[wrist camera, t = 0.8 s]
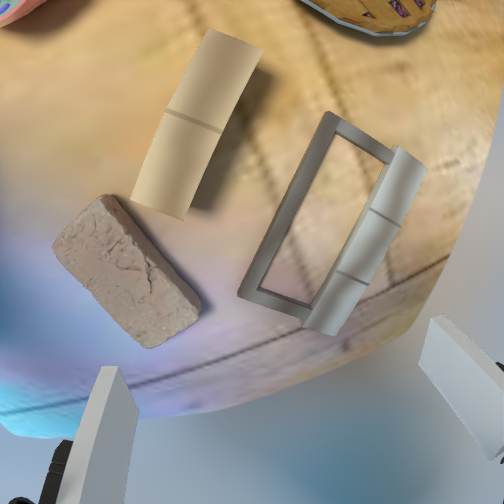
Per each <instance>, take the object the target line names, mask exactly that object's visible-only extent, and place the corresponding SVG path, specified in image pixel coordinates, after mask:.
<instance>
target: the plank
mask: <svg viewBox="0 0 504 504" xmlns="http://www.w3.org/2000/svg"><path fill="white" fill-rule="evenodd" d="M263 52H264V50H263V49H260V48H258V47H256V46H253V45H251V44H249V43H246V42H244V41H242V40H239V39H237V38H234V37H231V36H229V35H226V34H224V33H221V32H218V31H215V30H213V29H210V28H209V29H208V31H207V33H206V34H205V36H204V38H203V39H202V41H201V43H200V45H199V46H198V48H197V50H196V52H195V54H194V55H193V57H192V59H191V61H190V63H189V65H188V67H187V68H186V70H185V72H184V74H183V76H182V78H181V80H180V82H179V84H178V86H177V88H176V90H175V92H174V94H173V96H172V98H171V100H170V102H169V105H168V107H167V108H166V110H165V113H164V115H163V118H162V120H161V122H160V124H159V126H158V129H157V131H156V133H155V136H154V138H153V140H152V143H151V145H150V148H149V150H148V153H147V155H146V157H145V160H144V163H143V165H142V168H141V170H140V173H139V176H138V178H137V181H136V184H135V186H134V189H133V192H132V195H131V198H130V200H132V201H135V202H137V203H140V204H142V205H144V206H147V207H149V208H152V209H154V210H157V211H159V212H162V213H164V214H167V215H169V216H172V217H174V218H177V219H179V220H182V221H184V219H185V216H186V214H187V211H188V209H189V207H190V204H191V202H192V199H193V197H194V195H195V192H196V190H197V188H198V185H199V183H200V181H201V178H202V176H203V174H204V172H205V169H206V167H207V165H208V163H209V160H210V158H211V156H212V154H213V152H214V149H215V147H216V145H217V143H218V141H219V139H220V137H221V135H222V133H223V131H224V128H225V126H226V124H227V122H228V120H229V118H230V116H231V114H232V112H233V110H234V108H235V106H236V104H237V102H238V100H239V98H240V96H241V94H242V92H243V90H244V88H245V86H246V84H247V82H248V80H249V78H250V76H251V74H252V72H253V71H254V69H255V67H256V65H257V63H258V61H259V59H260V57H261V56H262V54H263Z"/></svg>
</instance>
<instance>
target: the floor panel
mask: <svg viewBox="0 0 504 504" xmlns="http://www.w3.org/2000/svg"><path fill="white" fill-rule="evenodd" d="M334 133H336V134H338V135H340V136H341V137H343V138H345V139H346V140H348V141H350V142H351V143H353V144H355V145H356V146H358V147H360V148H361V149H363V150H364V151H366V152H367V153H369V154H371V155H372V156H374V157H375V158H377V159H378V160H380V161H381V162H383V163H384V164H385V165H384V167H383V169H382V171H381V174H380V176H379V178H378V180H377V182H376V184H375V186H374V188H373V190H372V192H371V194H370V196H369V198H368V200H367V202H366V204H365V206H364V208H363V210H362V212H361V214H360V216H359V218H358V220H357V222H356V224H355V226H354V228H353V230H352V232H351V233H350V235H349V237H348V239H347V241H346V243H345V245H344V247H343V248H342V250H341V252H340V254H339V256H338V258H337V259H336V261H335V263H334V265H333V267H332V268H331V270H330V272H329V274H328V276H327V277H326V279H325V281H324V283H323V284H322V286H321V288H320V290H319V291H318V293H317V295H316V296H315V298H314V300H313V302H312V303H311V305H307V304H305V303H302V302H299V301H296V300H293V299H291V298H288V297H285V296H282V295H280V294H277V293H274V292H271V291H269V290H266V289H263V288H261V287H258V285H259V283H260V281H261V279H262V277H263V275H264V273H265V272H266V270H267V268H268V266H269V264H270V262H271V260H272V258H273V256H274V254H275V252H276V250H277V248H278V246H279V244H280V242H281V240H282V238H283V236H284V234H285V232H286V230H287V228H288V226H289V224H290V222H291V220H292V218H293V216H294V214H295V212H296V210H297V208H298V206H299V204H300V202H301V200H302V198H303V196H304V194H305V192H306V190H307V188H308V186H309V184H310V182H311V180H312V178H313V176H314V174H315V172H316V170H317V168H318V166H319V164H320V162H321V160H322V157H323V155H324V153H325V151H326V149H327V147H328V145H329V143H330V141H331V139H332V137H333V135H334ZM427 169H428V168H427V167H426V166H424V165H423V164H422V163H421V162H419V161H418V160H417V159H416V158H414V157H413V156H412V155H410V154H409V153H408V152H406V151H405V150H404V149H402V148H401V147H400V146H393V148H392V150H390V149H388V148H387V147H385V146H384V145H383V144H381V143H380V142H378V141H377V140H375V139H374V138H372V137H371V136H369V135H368V134H366V133H364V132H363V131H361V130H360V129H358V128H357V127H355V126H353V125H352V124H350V123H349V122H347V121H345V120H344V119H342V118H340V117H339V116H337V115H335V114H334V113H332V112H330V111H327V112H325V113H324V115H323V117H322V119H321V121H320V124H319V126H318V128H317V130H316V132H315V134H314V136H313V138H312V140H311V142H310V144H309V146H308V148H307V150H306V152H305V154H304V156H303V158H302V161H301V163H300V165H299V167H298V169H297V171H296V173H295V175H294V177H293V179H292V181H291V183H290V185H289V187H288V189H287V191H286V193H285V195H284V197H283V199H282V202H281V204H280V206H279V208H278V210H277V212H276V214H275V216H274V218H273V220H272V222H271V224H270V226H269V228H268V230H267V232H266V234H265V236H264V238H263V240H262V242H261V244H260V246H259V248H258V250H257V252H256V255H255V257H254V259H253V261H252V263H251V265H250V267H249V269H248V271H247V273H246V275H245V277H244V279H243V281H242V283H241V285H240V287H239V289H238V291H237V294H238V297H240V298H243V299H245V300H248V301H251V302H254V303H257V304H260V305H262V306H265V307H268V308H271V309H274V310H277V311H280V312H283V313H286V314H289V315H292V316H295V317H298V318H301V319H302V320H301V324H302V326H303V327H304V328H307V329H311V330H314V331H317V332H320V333H324V334H327V335H330V336H333V337H335V336H336V335H337V333H338V332H339V330H340V329H341V327H342V326H343V324H344V323H345V321H346V320H347V318H348V317H349V315H350V313H351V312H352V310H353V309H354V307H355V305H356V304H357V302H358V301H359V299H360V297H361V296H362V294H363V292H364V291H365V289H366V287H367V286H368V285H369V282H370V281H371V279H372V277H373V275H374V274H375V272H376V270H377V268H378V267H379V265H380V263H381V261H382V260H383V258H384V256H385V254H386V252H387V250H388V249H389V247H390V245H391V243H392V241H393V239H394V237H395V235H396V234H397V232H398V230H399V228H400V227H401V224H402V222H403V220H404V218H405V216H406V214H407V212H408V210H409V208H410V206H411V204H412V202H413V199H414V197H415V195H416V193H417V191H418V189H419V187H420V184H421V182H422V180H423V178H424V176H425V173H426V171H427Z"/></svg>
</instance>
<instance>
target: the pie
mask: <svg viewBox="0 0 504 504" xmlns="http://www.w3.org/2000/svg"><path fill="white" fill-rule="evenodd" d="M301 1H303V2H304V3H305V4H307V5H309V6H311V7H312V8H314V9H316V10H317V11H319V12H321V13H322V14H324V15H325V16H327V17H329V18H330V19H332V20H333V21H335V22H337V23H338V24H341V25H345V26H348V27H351V28H353V29H356V30H359V31H362V32H365V33H367V34H370V35H373V36H405V35H407V34H409V33H411V32H412V31H414V30H416V29H418V28H419V27H421V26H423V25H425V24H426V23H427V21H428V19H429V18H430V16H431V15H432V13H433V9H434V7H435V5H436V0H301Z"/></svg>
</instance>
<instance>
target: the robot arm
mask: <svg viewBox="0 0 504 504" xmlns="http://www.w3.org/2000/svg"><path fill="white" fill-rule="evenodd" d="M418 365H419V366H420V367H421V368H422V370H423V371H424V372H425V374H426V375H427V376H428V378H429V379H430V380H431V381H432V383H433V384H434V385H435V386H436V388H437V389H438V390H439V392H440V393H441V394H442V396H443V397H444V398H445V400H446V401H447V402H448V404H449V405H450V406H451V408H452V409H453V410H454V411H455V413H456V414H457V416H458V417H459V418H460V420H461V421H462V423H463V424H464V425H465V427H466V428H467V430H468V431H469V432H470V434H471V435H472V437H473V438H474V439H475V441H476V442H477V444H478V445H479V446H480V448H481V449H482V451H483V452H484V454H485V455H486V456H487V458H488V459H489V461H491V460H493V459H494V458H495V457H497V456H498V455H500V454H501V453H502V452H503V451H504V365H503V364H501V363H499V362H497V363H494V362H493V361H492V360H491V359H490V358H489V357H488V356H487V355H486V354H485V353H484V352H483V351H482V350H481V349H480V348H479V347H478V346H477V345H476V344H474V342H473V341H472V340H471V339H470V338H469V337H467V336H466V335H465V334H464V333H463V332H462V331H461V330H460V329H459V328H458V327H457V326H455V324H453V323H452V322H451V321H450V320H449V319H448V318H447V317H446V316H444V315H443V314H441V315H438V316H435V317H431V318H430V323H429V327H428V331H427V335H426V339H425V342H424V346H423V349H422V353H421V356H420V360H419V363H418ZM138 415H139V409H138V407H137V405H136V403H135V401H134V399H133V397H132V395H131V393H130V391H129V388H128V386H127V384H126V382H125V380H124V377H123V375H122V373H121V371H120V368H119V366H101V369H100V371H99V374H98V376H97V379H96V381H95V384H94V386H93V389H92V392H91V394H90V397H89V399H88V402H87V405H86V408H85V410H84V413H83V416H82V419H81V422H80V424H79V427H78V430H77V433H76V436H75V439H74V441H68V440H63V441H62V442H61V443H60V445H59V446H58V447H57V449H56V450H55V452H54V455H53V458H52V463H51V464H50V467H49V473H47V476H46V480H45V483H44V486H43V490H42V493H41V496H40V500H39V503H38V504H124V497H125V490H126V483H127V476H128V470H129V464H130V457H131V452H132V446H133V441H134V435H135V430H136V425H137V420H138ZM503 463H504V457H503V458H502V460H501V464H503ZM9 504H34V503H33V502H32V501H30V500H29V499H28V498H24V497H17V498H14V499H13V500H11V501H10V502H9ZM503 504H504V501H503Z"/></svg>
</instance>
